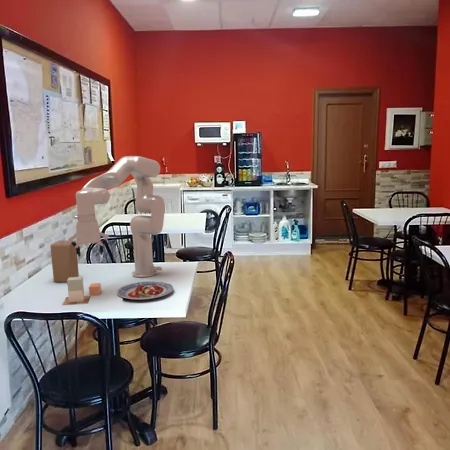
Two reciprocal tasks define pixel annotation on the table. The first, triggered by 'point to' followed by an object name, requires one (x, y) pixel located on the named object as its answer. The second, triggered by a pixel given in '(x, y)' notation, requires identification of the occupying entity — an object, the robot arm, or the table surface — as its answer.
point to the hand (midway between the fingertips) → (90, 254)
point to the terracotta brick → (95, 289)
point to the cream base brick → (76, 296)
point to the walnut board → (66, 302)
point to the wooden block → (64, 261)
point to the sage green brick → (75, 283)
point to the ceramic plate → (145, 290)
